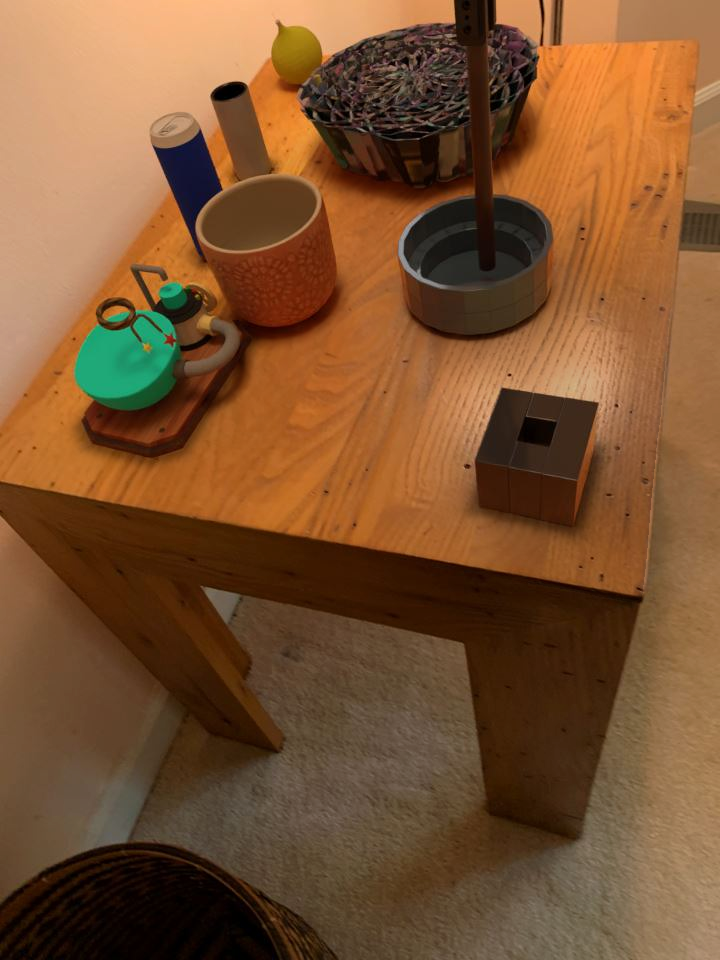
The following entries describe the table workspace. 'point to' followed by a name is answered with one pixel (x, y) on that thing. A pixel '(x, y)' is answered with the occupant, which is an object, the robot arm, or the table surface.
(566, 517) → the holder
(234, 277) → the planter
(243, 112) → the cardboard tube
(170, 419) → the contraption on wooden base
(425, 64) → the decorative bowl
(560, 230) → the table surface
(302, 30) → the yellow oval fruit
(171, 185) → the beverage can
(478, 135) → the stirring stick
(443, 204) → the bowl
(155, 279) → the table surface
